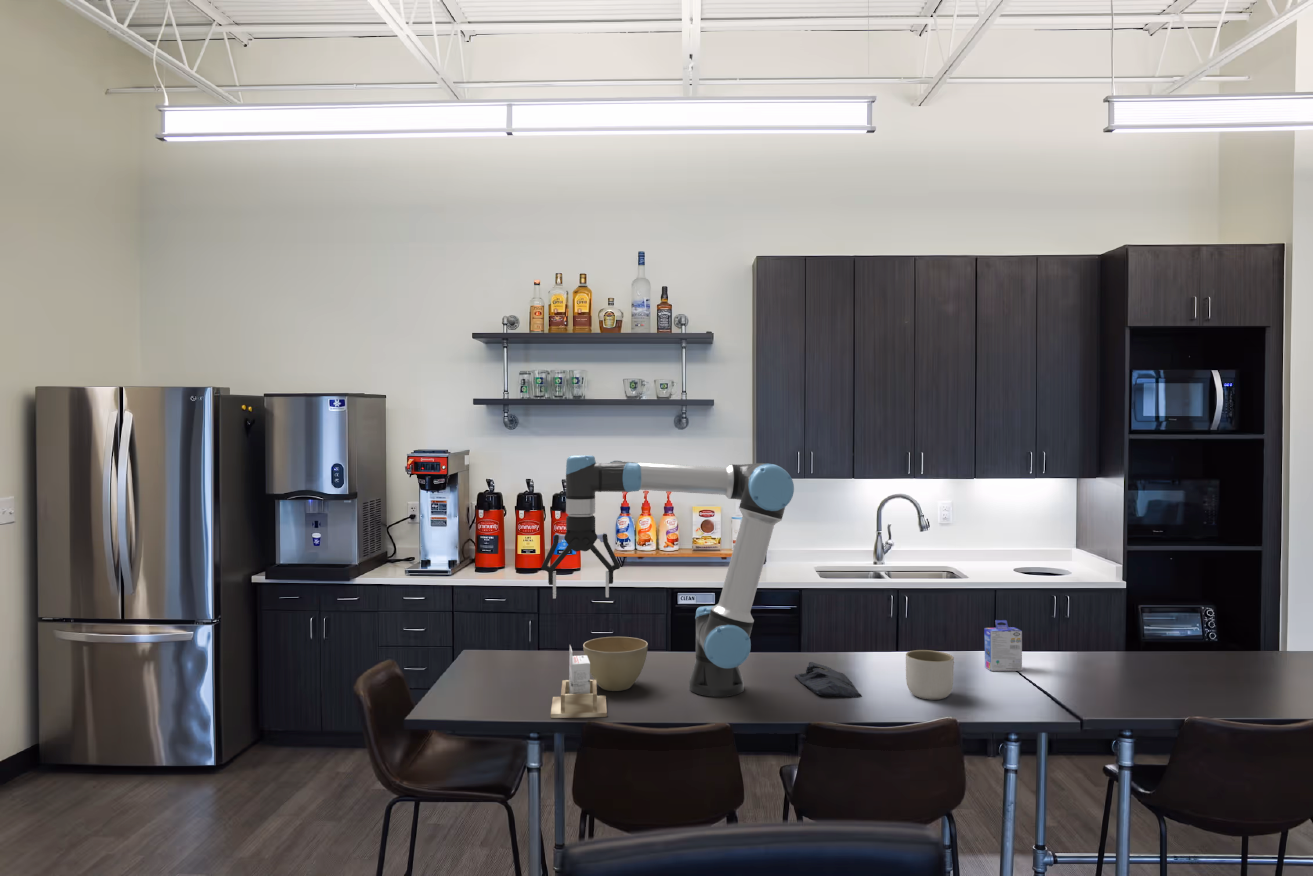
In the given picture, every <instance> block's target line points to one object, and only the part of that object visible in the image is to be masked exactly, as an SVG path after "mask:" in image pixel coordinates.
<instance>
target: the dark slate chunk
mask: <svg viewBox="0 0 1313 876" xmlns="http://www.w3.org/2000/svg"><path fill="white" fill-rule="evenodd" d="M794 678H795V679H796V680H798V681H799V682H800V683H801V684H802V685H803V686H805V687H807V688H808V689H809V690H810V691H812V692H813V693H815V694H816V695H819V696H820V697H821V696H822V697H823V696H824V697H825V696H827V697H831V696H832V697H843V698H860V697H863V696H862V694H861V693H860V692H859V691H858V689H857V688H856V686H855V685H854V683H853V682H852V681H851V680H850V678H848V676H847V675H846V674H845V673H843V672H840V671H837V670H835V669H832V667H828V666H827V665H824V664H820V663H816V662H813V661H809V662H808V666H807V667H806V669H805V672H804V673H798V674H795V675H794Z"/></svg>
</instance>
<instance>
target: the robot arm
mask: <svg viewBox="0 0 1313 876" xmlns="http://www.w3.org/2000/svg"><path fill="white" fill-rule="evenodd" d="M596 461H597V460H596V457H595V456H594V455H584V454H583V455H579V454H577V455H570V456H568V457H567V458H566V465H565V467H566V469H565V494H566V495H565V497H566V498H565V501H566V502H565V514H567V516H565V518H566V519H565V525H566V527H565V528H566V529H565V532H566V533H565V534H559V533H555V534H554V535H553V543H552V545H551V547H550V549H549V550H548V552H547V555H546V556H545V559H544V561H543V563H542V564H541V569H540V570H541V571H545V572H547V575H548V579H547V581H548V582H547V583H548V585H549V586H552V599H556V598H557V571H556V568H557V567H558V566H559V565H560V564H561V562H562V561H563V560H564V559H565V558H566V557H567V555H568V554H569V553H570V552H571V551H573V552H589V551H591V552H592V553H593V554H594V555H595V557H596V558H597V559H598V560H599V561H600V562H601V564H602V565H604V567H605V568H606V569H607V570H605V598H610V585H613V583H614V571H616V570H620V569H621V564H620V562H619V561H618V558H617V556H616V554H615V553H614V551H613V549H612V547H611V545H610V542H609V538H608V533H606V532H603V533H599V534H597V533H596V516H595V515H594V514H595V513H596V492H598V493H602V492H606V493H608V492H609V493H614V492H615V493H620V492H621V493H625V492H626V493H633V492H639V491H652V492H653V491H654V492H655V491H656V492H657V491H658V492H670V493H686V494H687V493H688V494H705V495H719V496H721V495H723V496H725V497H726V498H727V499H729V500H739V501H740V502H739V506H738V509H739V511H740V513H741V516H742V517H741V521H740V524H739V528H738V533H737V535H736V538H735V539H736V540H735V542H734V546H733V549H732V554H731V558H730V560H729V564H728V568H727V572H726V576H725V578H724V579H725V580H724V583H723V587H722V588H721V589H722V590H721V593H720V596H719V599H718V600H719V601H718V603H717V604H715V605H705V606H699V607H697V609H696V611H695V617H694V619H695V662H694V665H693V668H692V671H691V673H690V678H689V681H688V683H689V686H688V689H689V690H690V691H691V692H692V693H695V694H696V695H700V696H704V697H717V698H718V697H719V698H720V697H721V698H722V697H723V698H725V697H732V696H737V695H740V694H741V693H742V692H744V690H745V683H744V679H743V675H742V672H741V668H740V666H741V665H742V664H744V662H745V661H746V660H747V659H748V658H749V656H750V653H751V646H752V644H751V638H750V637H751V633H752V630H753V625H754V622H755V619H754V618H753V615H752V614H751V611H752V606H753V604H754V600H755V596H756V593H757V589H758V586H759V581H760V578H761V575H762V572H763V567H764V564H765V560H766V556H767V552H768V548H769V546H770V541H771V538H772V535H773V530H774V528H775V527H774V526H775V525H776V524H777V523H779V522H782V520H783V516H784V513H785V510H786V507H787V506H788V505H789V504H790V502H791V501H792V500H793V496H794V492H795V485H794V480H793V478H792V477H791V475H790V473H788V471H787V470H785V469H784V468H783V467H782V466H779V465H777V464H773V463H766V462H755V463H747V464H745V463H744V464H733V463H732V464H729V465H728V466H726V467H722V466H717V467H716V466H705V465H704V466H703V465H688V464H686V465H685V464H667V463H655V462H654V463H653V462H651V463H649V462H635V461H634V462H633V461H623V460H612V461H610V462H604V463H603V462H596ZM563 540H564V541H565V542H566V544H567V545H566V546H565V548H564V549H563V550H562V552H561V553H560V554H559V555H558V556H557V558H555V560H554V561H552V562H553V563H552V564H550V566H549V563H550V561H551V559H552V557H553V556H554V553H555V552H556V550H557V548H558V545H559V544H561V543H562V541H563ZM597 540H599V541H600V543H603V546H604V547H605V548H604V549H606V551H607V553H608V555H609V557H610V559H611V562H612V564H611V563H610V562H609V561H608V560H607V558H606V557H605V556H604V555H603V554H602V553H601V552H600V550H599V549H598V548H597V547H596V545H595V543H596V541H597Z"/></svg>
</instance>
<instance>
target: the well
mask: <svg viewBox="0 0 1313 876" xmlns="http://www.w3.org/2000/svg"><path fill="white" fill-rule="evenodd" d="M597 685H598V683H597V682H596V680H595V679H590V693H588V694H569V679H565V680H564V679H563V680H561V691H560V696H552V700H551V701H552V703H551V708H550V719H562V718H564V719H565V718H568V719H569V718H571V719H572V718H573V719H574V718H576V719H577V718H607V717H608V711H607V699H606V698H607V696H606V695H598V690H597V687H598V686H597Z"/></svg>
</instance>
